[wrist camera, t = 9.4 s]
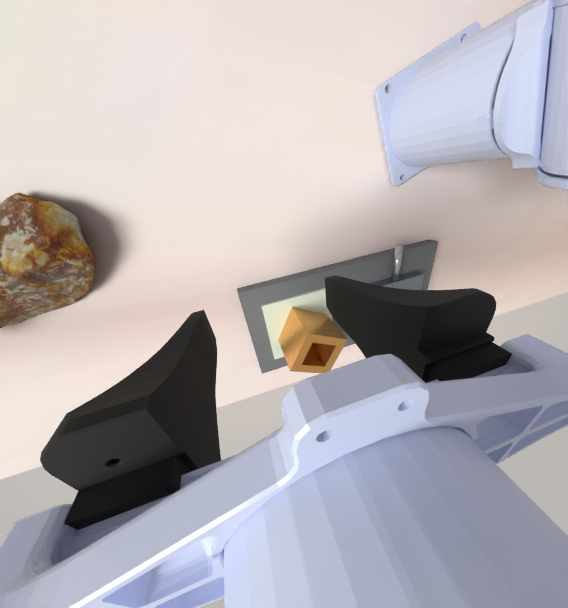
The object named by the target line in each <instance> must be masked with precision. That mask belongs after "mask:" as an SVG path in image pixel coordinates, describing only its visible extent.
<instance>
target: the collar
mask: <svg viewBox="0 0 568 608" xmlns="http://www.w3.org/2000/svg"><path fill="white" fill-rule="evenodd" d="M278 341H279V344H280V346H281V349H282V351H283V354H284V356H285V359H286V361H287V364H288V366H289V369H290V371H297V372H312V373H325V372H328V371H330V370H331V368H332V366H333V364H334V363H335V361H336V359H337V357H338V356H339V354H340V352H341V350H342V348H343V347H344V345H345V343H346V341H347V338H346V337H345V336H344V335H343V334H342V332H341V331H340V330H339V329H338V328H337V326H336V325H335V324H334V323H333V322H332V321H331V319H330V318H329V317H328V316H327V315H326V314H324V313H319V312H314V311H309V310H304V309H299V308H294V307H291V310H290V312H289V315H288V317H287V320H286V322H285V325H284V327H283V330H282V332H281V334H280V337H279V339H278Z"/></svg>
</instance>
